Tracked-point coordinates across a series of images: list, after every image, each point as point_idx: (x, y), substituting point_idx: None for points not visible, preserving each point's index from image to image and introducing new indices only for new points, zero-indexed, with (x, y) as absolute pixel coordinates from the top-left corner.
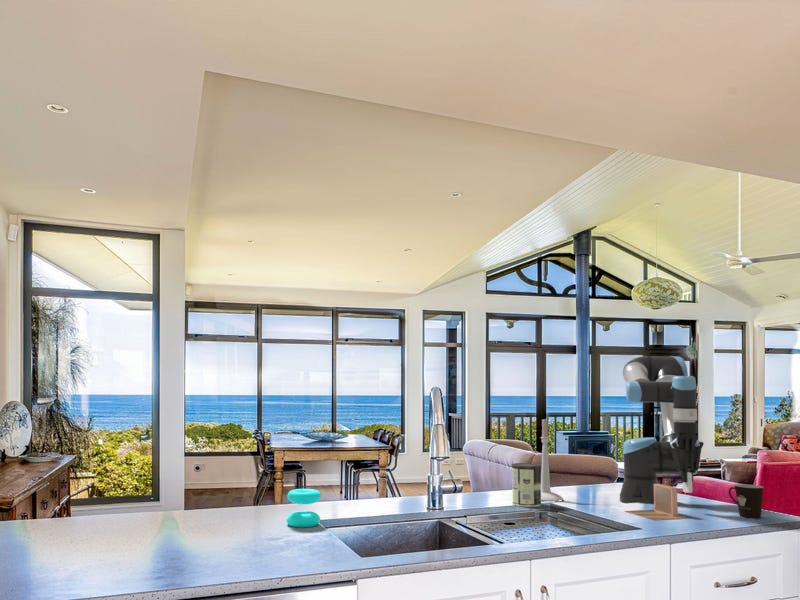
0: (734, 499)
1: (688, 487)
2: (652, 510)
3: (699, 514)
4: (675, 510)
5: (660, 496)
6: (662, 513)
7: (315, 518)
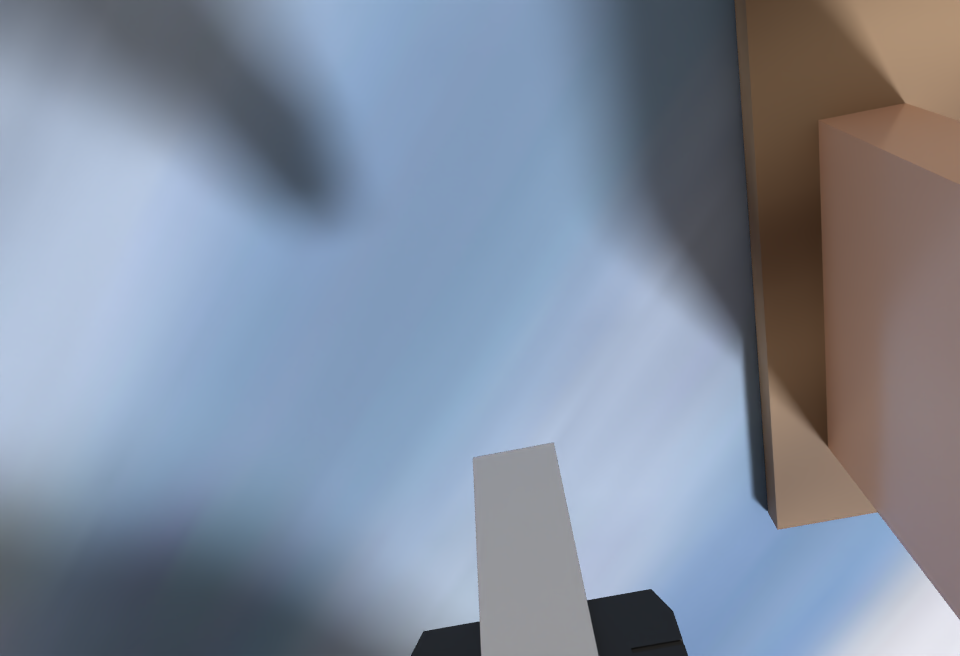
0: None
1: (564, 505)
2: None
3: (348, 354)
4: (893, 125)
5: None
6: None
7: None
